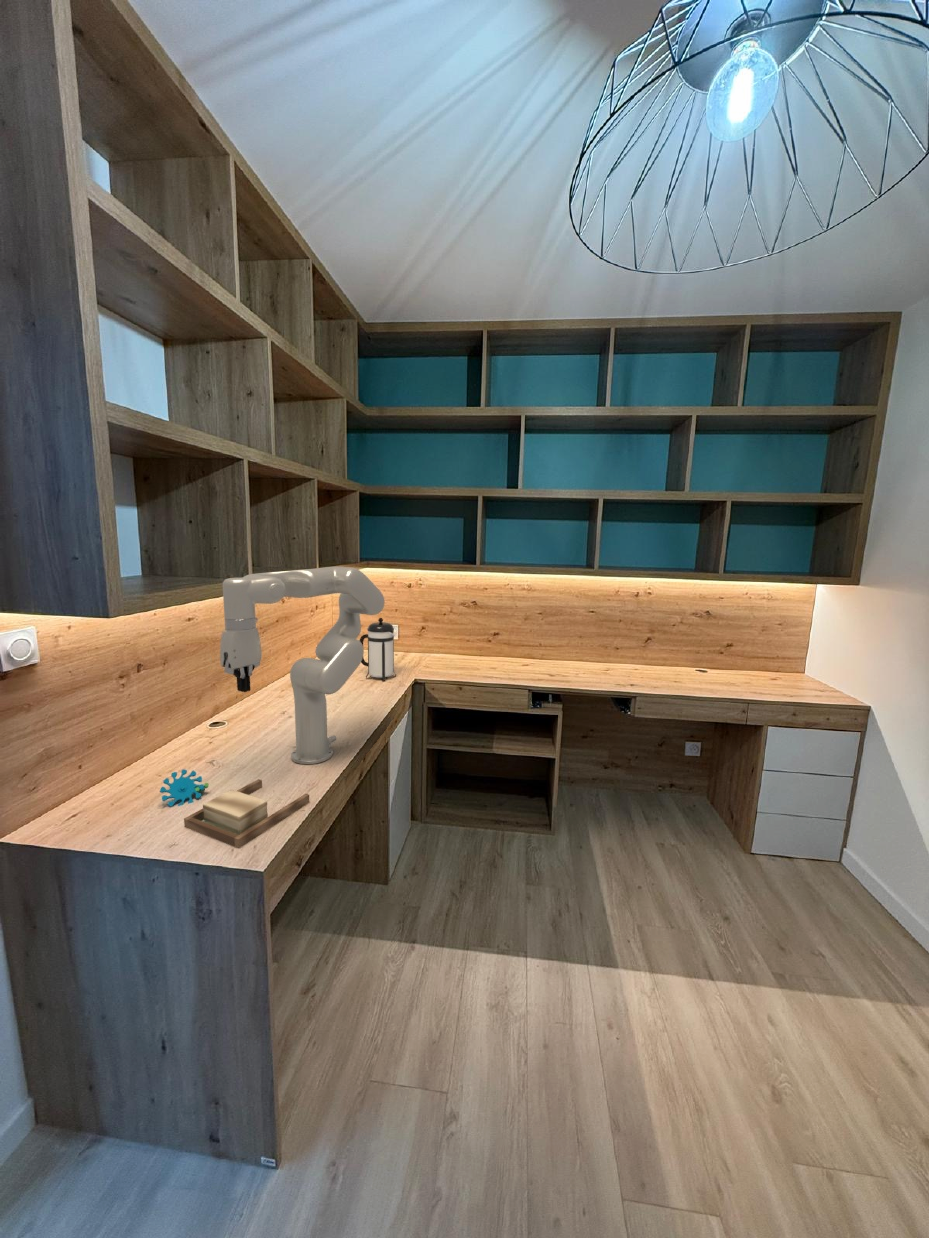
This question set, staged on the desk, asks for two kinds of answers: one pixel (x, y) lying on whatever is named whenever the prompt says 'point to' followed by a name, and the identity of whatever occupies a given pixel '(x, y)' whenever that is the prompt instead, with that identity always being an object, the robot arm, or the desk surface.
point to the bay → (238, 841)
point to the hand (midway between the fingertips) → (244, 690)
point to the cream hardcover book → (235, 811)
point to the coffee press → (380, 650)
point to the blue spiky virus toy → (183, 788)
